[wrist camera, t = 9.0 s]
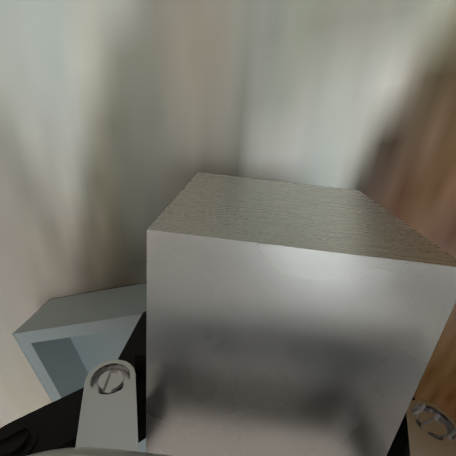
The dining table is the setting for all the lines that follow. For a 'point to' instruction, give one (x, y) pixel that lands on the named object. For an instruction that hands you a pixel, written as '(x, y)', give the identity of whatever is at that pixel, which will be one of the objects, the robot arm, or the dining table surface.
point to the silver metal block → (286, 320)
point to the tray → (80, 336)
